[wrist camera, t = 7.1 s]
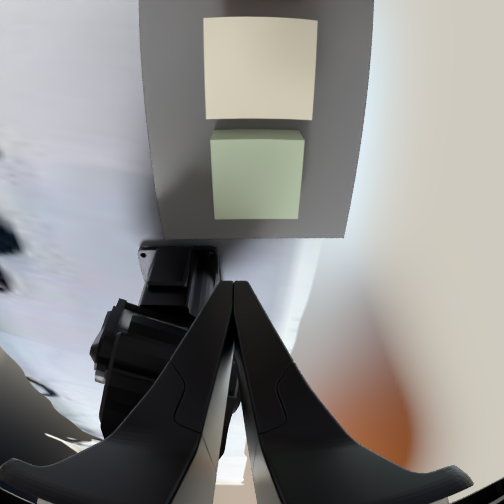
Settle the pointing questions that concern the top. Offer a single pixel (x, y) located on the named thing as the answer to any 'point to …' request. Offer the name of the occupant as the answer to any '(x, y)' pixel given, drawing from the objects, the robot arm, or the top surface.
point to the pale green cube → (256, 173)
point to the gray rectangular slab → (200, 129)
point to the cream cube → (259, 67)
